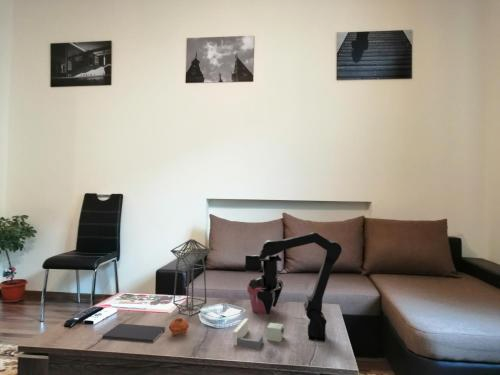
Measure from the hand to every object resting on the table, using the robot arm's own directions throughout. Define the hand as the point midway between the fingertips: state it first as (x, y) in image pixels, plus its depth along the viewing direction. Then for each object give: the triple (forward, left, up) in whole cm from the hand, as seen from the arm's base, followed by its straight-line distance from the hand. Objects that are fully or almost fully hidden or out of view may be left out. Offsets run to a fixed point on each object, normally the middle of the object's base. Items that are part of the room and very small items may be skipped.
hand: (271, 310), depth 138 cm
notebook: (+53, +15, -11) cm, 56 cm away
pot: (+36, +10, -11) cm, 39 cm away
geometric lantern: (+44, -16, -11) cm, 48 cm away
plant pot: (+12, -29, -11) cm, 33 cm away
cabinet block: (-2, +1, -10) cm, 11 cm away
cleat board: (+7, +5, -10) cm, 13 cm away
